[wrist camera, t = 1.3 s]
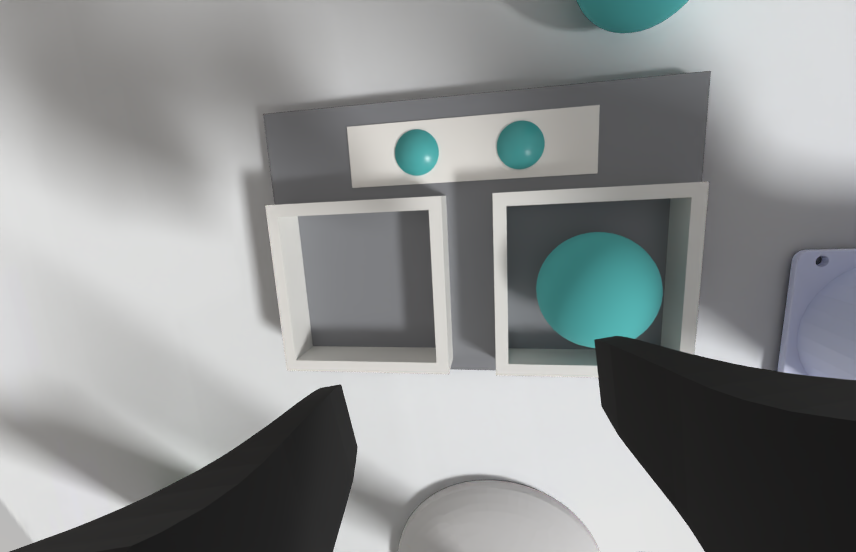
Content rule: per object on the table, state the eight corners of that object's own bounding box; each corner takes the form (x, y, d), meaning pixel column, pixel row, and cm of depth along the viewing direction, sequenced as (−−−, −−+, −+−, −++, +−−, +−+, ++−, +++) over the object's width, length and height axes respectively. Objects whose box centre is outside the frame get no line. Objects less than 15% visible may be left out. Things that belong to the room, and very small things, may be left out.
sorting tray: (698, 77, 18) (738, 55, 15) (676, 365, 21) (707, 393, 18) (273, 117, 21) (239, 105, 18) (303, 359, 24) (277, 381, 21)
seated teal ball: (640, 225, 19) (691, 236, 14) (634, 326, 20) (681, 369, 15) (531, 229, 19) (543, 240, 15) (531, 325, 20) (543, 366, 16)
